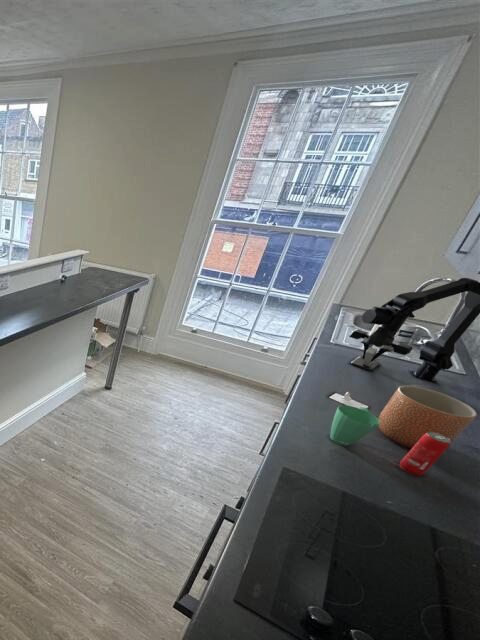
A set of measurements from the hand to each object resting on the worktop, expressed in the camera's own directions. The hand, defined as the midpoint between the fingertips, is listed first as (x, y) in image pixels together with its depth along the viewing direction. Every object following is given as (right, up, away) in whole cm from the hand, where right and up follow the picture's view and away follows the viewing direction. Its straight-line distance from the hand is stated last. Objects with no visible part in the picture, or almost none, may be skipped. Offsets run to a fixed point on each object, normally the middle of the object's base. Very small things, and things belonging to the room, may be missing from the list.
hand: (367, 360), depth 168 cm
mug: (-52, -27, -43) cm, 73 cm away
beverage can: (-43, -35, -54) cm, 77 cm away
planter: (-30, -28, -41) cm, 58 cm away
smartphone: (+7, -1, +8) cm, 10 cm away
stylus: (+5, -2, +5) cm, 7 cm away
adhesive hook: (-30, -17, -23) cm, 41 cm away
